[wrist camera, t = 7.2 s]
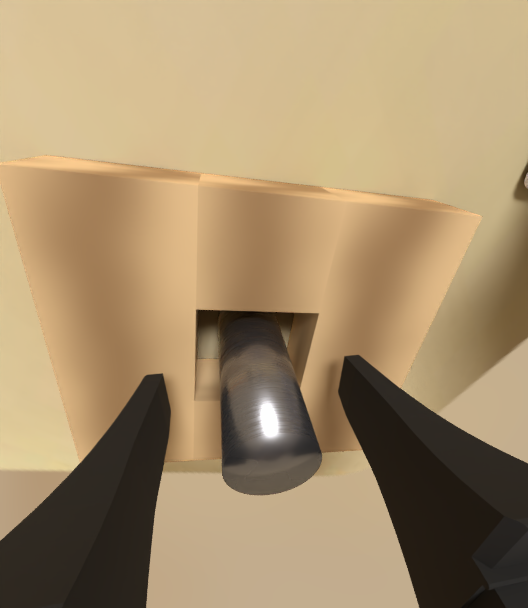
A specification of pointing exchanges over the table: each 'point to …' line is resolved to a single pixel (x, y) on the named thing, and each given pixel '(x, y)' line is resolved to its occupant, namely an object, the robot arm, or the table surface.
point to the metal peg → (261, 408)
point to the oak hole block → (220, 284)
